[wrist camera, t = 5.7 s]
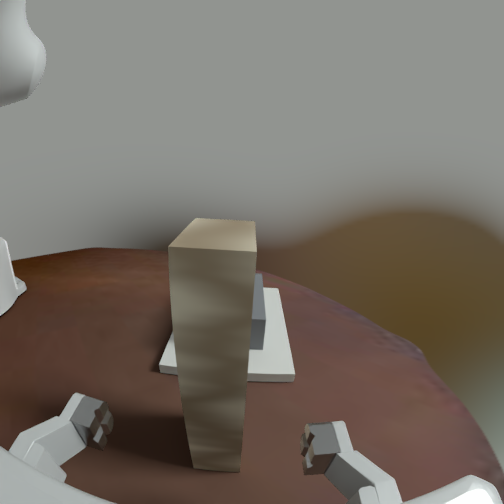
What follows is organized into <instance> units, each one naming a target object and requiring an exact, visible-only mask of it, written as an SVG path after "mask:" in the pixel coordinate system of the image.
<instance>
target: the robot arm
mask: <svg viewBox="0 0 504 504" xmlns="http://www.w3.org/2000/svg"><path fill="white" fill-rule="evenodd" d="M25 6H26V0H0V107H2V106H5V105H8V104H11V103H15V102H18V101H20V100H24V99H27V98H28V97H29V96H30V95H31V94H32V92H33V91H34V90H35V89H36V87H37V86H38V84H39V82H40V81H41V78H42V76H43V74H44V71H45V66H46V51H45V48H44V45H43V43H42V42H41V40H40V39H38V38H37V37H36V36H35V34H34V33H33V32H32V30H31V29H30V26H29V24H28V21H27V18H26V10H25ZM26 289H27V288H26V285H25V283H24V282H23V281H21V280H20V279H18V278H17V277H15V276H14V273H13V269H12V264H11V260H10V255H9V250H8V245H7V242H6V241H5V240H4V239H3V238H2V237H0V316H1V315H2V314H3V313H5V312H6V311H7V310H8V309H9V308H10V307H11V306H12V305H13V303H14V302H15V300H16V298H17V297H18V296H19V295H21V294H22V293H23V292H24V291H25V290H26ZM108 408H109V406H108V404H107V402H104V401H101V400H98V399H94V398H91V397H88V396H85V395H82V394H79V393H75V394H73V396H72V397H71V399H70V400H69V402H68V403H67V405H66V407H65V408H64V410H63V411H62V413H61V415H60V416H59V417H58V416H55V417H53V418H51V419H49V420H47V421H45V422H43V423H41V424H39V425H37V426H34V427H32V428H30V429H28V430H26V431H23V432H21V433H20V434H19V436H18V437H17V439H16V440H15V442H14V443H13V445H12V447H11V448H10V450H9V452H8V451H7V450H5V449H4V448H2V447H1V446H0V504H116V503H113V502H110V501H107V500H104V499H101V498H99V497H96V496H93V495H91V494H88V493H86V492H83V491H81V490H79V489H76V488H74V487H72V486H69V485H67V484H65V483H64V481H65V478H66V473H65V472H64V471H63V470H62V469H61V467H60V465H61V464H63V463H64V462H66V461H67V460H68V459H70V458H71V457H73V456H74V455H76V454H77V453H78V452H80V451H81V450H83V449H84V448H85V447H86V446H88V447H92V448H95V449H98V450H101V451H103V449H104V447H105V445H106V443H107V437H106V435H108V434H109V433H111V431H112V428H113V422H114V421H113V416H112V414H111V413H110V412H109V411H108ZM304 429H305V433H304V434H302V437H301V443H300V450H301V455H303V456H304V457H305V458H304V460H303V462H302V464H303V471H304V475H315V474H324V475H325V476H326V477H327V478H328V479H329V480H330V481H331V483H332V484H333V485H334V486H335V487H336V488H337V489H338V490H339V491H340V492H341V493H342V494H343V495H344V496H345V497H346V498H347V499H348V500H349V501H348V502H347V503H346V504H503V503H502V501H501V498H500V496H499V494H498V491H497V490H496V488H495V487H494V485H492V484H491V483H489V482H487V481H485V480H483V479H481V478H478V477H476V476H473V475H468V476H465V477H463V478H461V479H459V480H457V481H455V482H453V483H451V484H448V485H446V486H444V487H442V488H440V489H437V490H435V491H433V492H430V493H428V494H425V495H423V496H420V497H417V498H415V499H412V500H409V501H406V502H403V503H402V500H401V497H400V494H399V491H398V488H397V485H396V482H395V479H394V478H392V477H391V476H390V475H388V474H387V473H385V472H384V471H383V470H381V469H380V468H379V467H377V466H376V465H375V464H373V463H372V462H371V461H369V460H368V459H367V458H366V457H364V456H363V455H362V454H360V453H359V452H358V451H353V448H352V445H351V441H350V438H349V435H348V432H347V428H346V425H345V423H344V421H336V422H321V423H307V424H306V426H305V428H304Z"/></svg>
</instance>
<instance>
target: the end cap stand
mask: <svg viewBox="0 0 504 504" xmlns="http://www.w3.org/2000/svg"><path fill="white" fill-rule="evenodd" d="M159 368H160V373H167V374H174V375H178V372H177V364H176V355H175V346H174V335H173V332H172V334H171V337H170V339H169V341H168V344H167V346H166V349H165V351H164V353H163V356H162V358H161V361H160V363H159ZM294 377H295V371H294V366H293V361H292V356H291V351H290V345H289V340H288V335H287V330H286V325H285V320H284V315H283V310H282V305H281V300H280V295H279V291H278V288H263V281H262V274H255V283H254V296H253V310H252V323H251V336H250V349H249V362H248V375H247V381H259V382H293V381H294Z"/></svg>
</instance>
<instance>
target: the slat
mask: <svg viewBox="0 0 504 504" xmlns="http://www.w3.org/2000/svg"><path fill="white" fill-rule="evenodd" d="M168 253H169V279H170V297H171V311H172V324H173V335H174V346H175V355H176V364H177V372H178V380H179V387H180V394H181V401H182V408H183V414H184V420H185V426H186V432H187V437H188V442H189V448H190V453H191V458H192V462H193V467H194V468H196V469H204V470H214V471H226V472H240V463H241V451H242V438H243V426H244V413H245V401H246V388H247V375H248V362H249V349H250V336H251V323H252V310H253V296H254V283H255V269H256V255H257V249H256V233H255V221H240V220H239V221H238V220H222V219H202V218H196V219H194V220H193V222H191V223H190V224H189V225H188V227H187V228H186V229H185V230H184V231H183V232H182V233H181V234H180V235H179V236H178V237H177V238H176V239H175V240H174V241H173V242H172V243H171V244H170V245H169V247H168Z"/></svg>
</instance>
